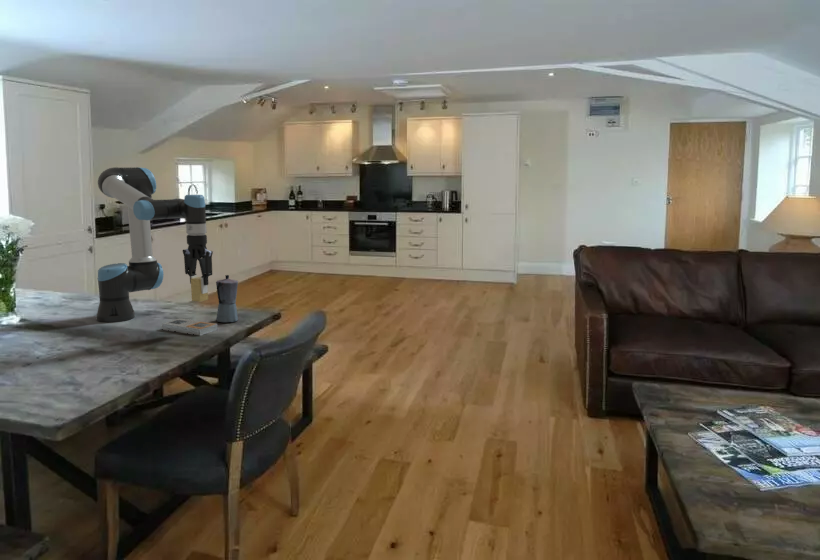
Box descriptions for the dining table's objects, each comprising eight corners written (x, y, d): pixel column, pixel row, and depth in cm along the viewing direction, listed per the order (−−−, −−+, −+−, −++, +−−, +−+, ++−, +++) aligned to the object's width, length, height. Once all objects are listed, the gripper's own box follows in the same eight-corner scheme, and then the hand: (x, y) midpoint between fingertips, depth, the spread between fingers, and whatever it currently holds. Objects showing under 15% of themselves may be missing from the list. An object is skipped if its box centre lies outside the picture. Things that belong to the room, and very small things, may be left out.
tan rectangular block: (191, 300, 248) (190, 278, 247) (199, 298, 252) (198, 276, 251) (200, 301, 247) (199, 279, 245) (208, 299, 251) (207, 277, 249)
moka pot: (244, 317, 276) (243, 272, 272) (231, 326, 261) (229, 279, 257) (223, 316, 277) (221, 272, 273) (209, 325, 262) (207, 278, 258)
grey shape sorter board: (162, 329, 254) (161, 323, 254) (180, 324, 263) (180, 317, 263) (200, 335, 246) (199, 328, 245) (217, 329, 255) (217, 323, 254)
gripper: (172, 234, 245) (176, 292, 249) (207, 236, 238) (210, 296, 242) (186, 232, 252) (189, 289, 256) (220, 234, 245) (223, 292, 249)
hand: (199, 292), depth 249 cm, fingers closed on tan rectangular block, 4 cm apart
